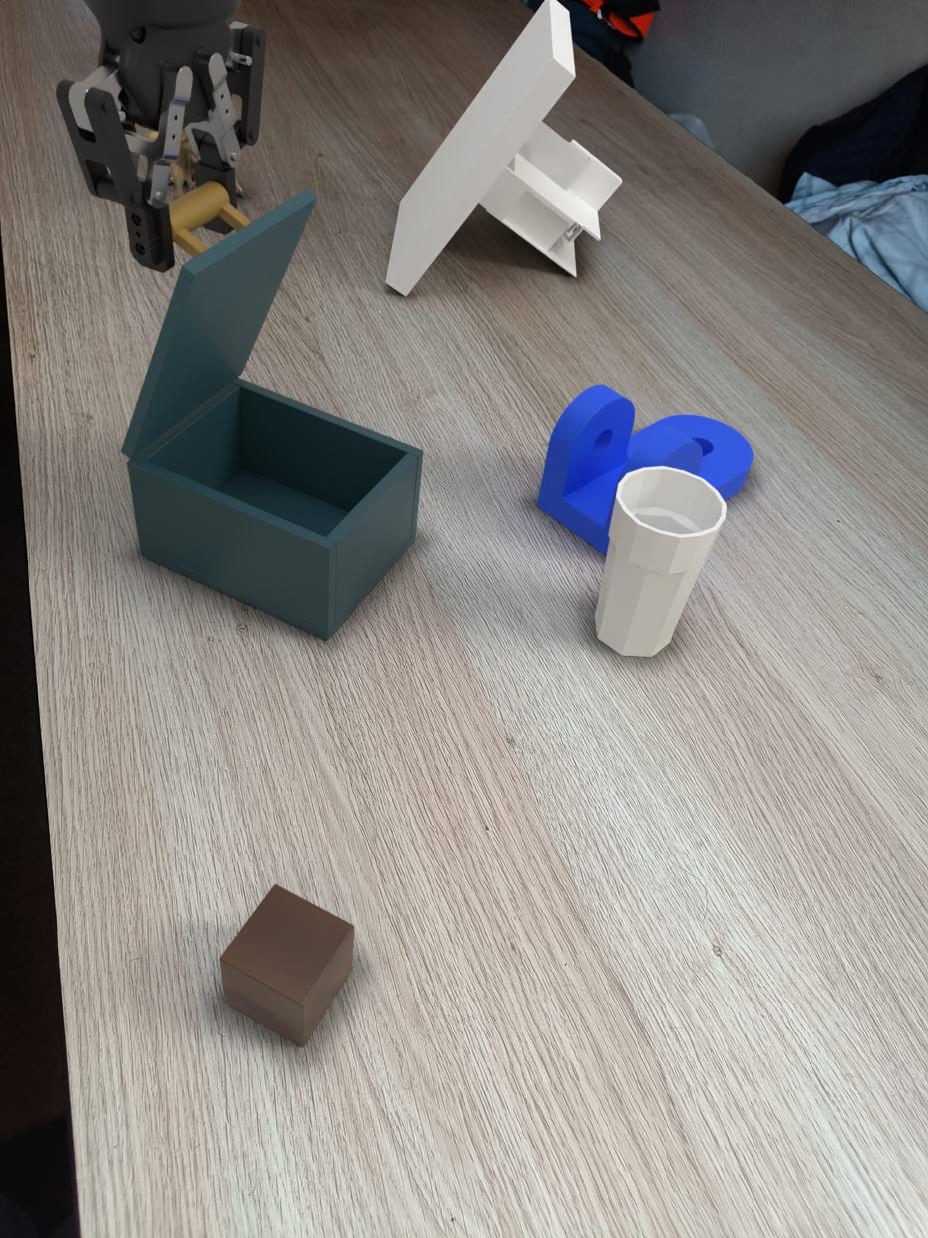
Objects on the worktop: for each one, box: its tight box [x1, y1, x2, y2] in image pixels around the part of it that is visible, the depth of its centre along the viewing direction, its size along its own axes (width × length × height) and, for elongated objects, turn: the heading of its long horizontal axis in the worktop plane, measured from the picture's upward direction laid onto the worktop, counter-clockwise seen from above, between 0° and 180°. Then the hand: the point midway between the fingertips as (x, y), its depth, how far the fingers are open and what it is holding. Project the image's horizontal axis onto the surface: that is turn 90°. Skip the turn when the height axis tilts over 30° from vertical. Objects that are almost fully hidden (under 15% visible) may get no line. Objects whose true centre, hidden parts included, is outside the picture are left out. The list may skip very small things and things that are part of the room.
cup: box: [594, 466, 728, 658], centre depth 67 cm, size 7×7×11 cm
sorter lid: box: [120, 181, 319, 460], centre depth 63 cm, size 15×12×5 cm
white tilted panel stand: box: [384, 0, 623, 297], centre depth 102 cm, size 23×16×24 cm
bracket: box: [536, 384, 754, 557], centre depth 79 cm, size 18×8×9 cm, turn 133°
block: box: [218, 883, 356, 1048], centre depth 50 cm, size 4×4×4 cm
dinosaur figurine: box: [146, 128, 244, 201], centre depth 106 cm, size 8×26×13 cm, turn 5°
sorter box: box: [126, 377, 424, 641], centre depth 70 cm, size 15×12×8 cm
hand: (187, 246), depth 60 cm, fingers closed on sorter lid, 5 cm apart
